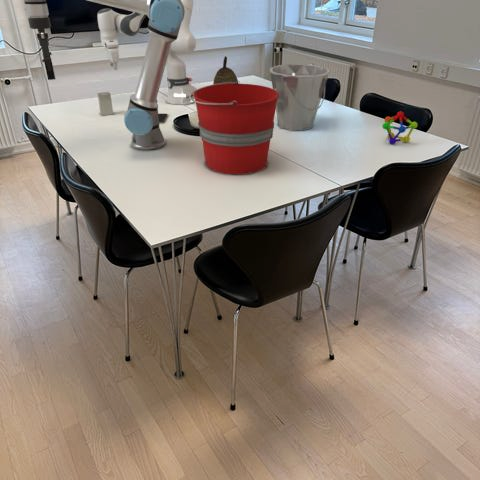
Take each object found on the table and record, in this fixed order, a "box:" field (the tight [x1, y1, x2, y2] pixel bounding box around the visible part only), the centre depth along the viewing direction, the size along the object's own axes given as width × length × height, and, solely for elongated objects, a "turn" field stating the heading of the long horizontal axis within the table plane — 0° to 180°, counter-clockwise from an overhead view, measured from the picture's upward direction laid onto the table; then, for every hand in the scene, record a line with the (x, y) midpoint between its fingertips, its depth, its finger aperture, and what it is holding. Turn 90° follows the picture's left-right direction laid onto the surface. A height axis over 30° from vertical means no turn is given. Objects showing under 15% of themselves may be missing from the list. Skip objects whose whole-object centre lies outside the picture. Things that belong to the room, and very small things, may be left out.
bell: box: [212, 56, 239, 85], centre depth 278 cm, size 19×26×20 cm
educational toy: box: [382, 110, 418, 145], centre depth 207 cm, size 16×13×15 cm
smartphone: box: [158, 113, 169, 124], centre depth 241 cm, size 7×1×15 cm
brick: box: [97, 91, 114, 117], centre depth 246 cm, size 5×6×11 cm
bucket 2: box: [269, 63, 330, 131], centre depth 226 cm, size 30×30×28 cm
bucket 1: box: [190, 81, 279, 175], centre depth 181 cm, size 35×35×30 cm
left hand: (51, 76), depth 177 cm, fingers open, 13 cm apart
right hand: (114, 67), depth 252 cm, fingers open, 8 cm apart
